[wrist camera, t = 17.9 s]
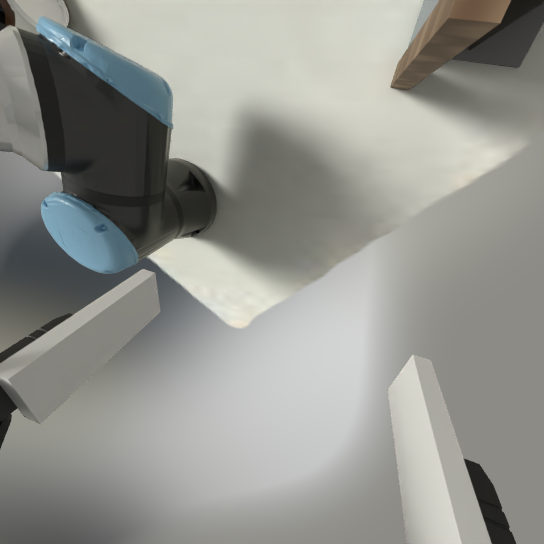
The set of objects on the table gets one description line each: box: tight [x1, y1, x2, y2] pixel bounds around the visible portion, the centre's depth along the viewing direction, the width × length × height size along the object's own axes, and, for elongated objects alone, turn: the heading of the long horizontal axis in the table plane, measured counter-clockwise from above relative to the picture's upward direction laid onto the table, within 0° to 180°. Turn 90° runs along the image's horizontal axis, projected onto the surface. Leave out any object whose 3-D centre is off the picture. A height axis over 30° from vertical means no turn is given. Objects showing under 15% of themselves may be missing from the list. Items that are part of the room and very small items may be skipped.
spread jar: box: [0, 0, 69, 34], centre depth 36 cm, size 12×11×12 cm
